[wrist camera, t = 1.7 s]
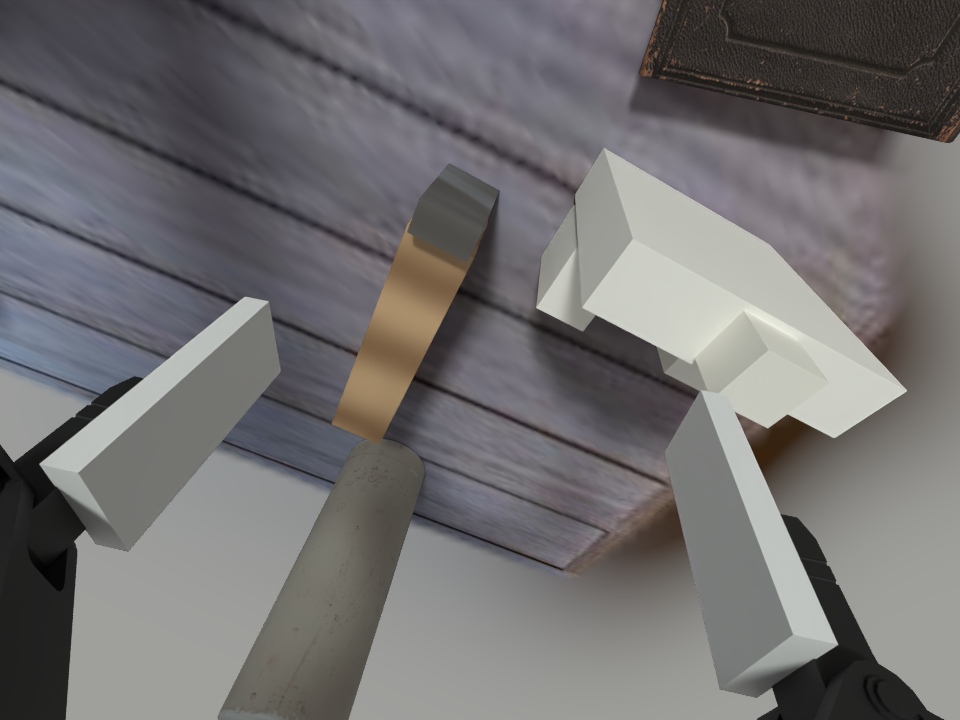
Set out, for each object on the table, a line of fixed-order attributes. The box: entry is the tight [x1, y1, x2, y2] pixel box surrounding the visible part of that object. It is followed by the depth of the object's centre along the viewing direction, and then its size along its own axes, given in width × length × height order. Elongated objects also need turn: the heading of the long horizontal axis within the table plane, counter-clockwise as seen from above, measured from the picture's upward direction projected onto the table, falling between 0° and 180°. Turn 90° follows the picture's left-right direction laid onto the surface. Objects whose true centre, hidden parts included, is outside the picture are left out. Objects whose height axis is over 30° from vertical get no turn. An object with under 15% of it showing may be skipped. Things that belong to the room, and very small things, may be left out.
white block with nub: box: [536, 148, 907, 438], centre depth 22 cm, size 12×8×16 cm, turn 64°
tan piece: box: [332, 164, 499, 444], centre depth 31 cm, size 20×4×7 cm, turn 154°
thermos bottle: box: [218, 439, 425, 720], centre depth 35 cm, size 8×8×28 cm
